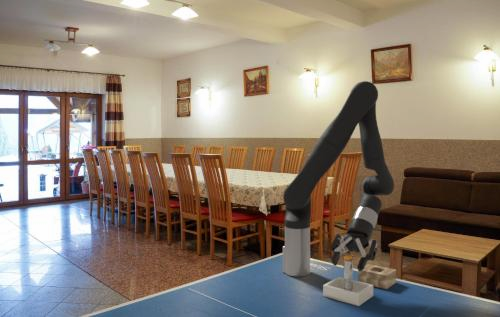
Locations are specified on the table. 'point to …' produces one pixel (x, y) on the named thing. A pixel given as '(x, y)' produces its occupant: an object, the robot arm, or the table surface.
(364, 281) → the block
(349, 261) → the lock pin
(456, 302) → the table surface
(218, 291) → the table surface
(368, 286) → the tray
